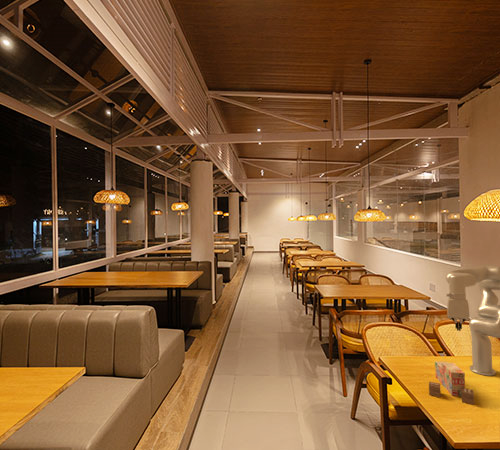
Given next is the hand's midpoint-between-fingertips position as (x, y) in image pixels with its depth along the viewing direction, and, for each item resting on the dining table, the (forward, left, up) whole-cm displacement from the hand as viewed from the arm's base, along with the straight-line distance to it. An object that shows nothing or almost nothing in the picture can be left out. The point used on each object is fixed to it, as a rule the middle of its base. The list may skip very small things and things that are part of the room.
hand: (458, 330), depth 176 cm
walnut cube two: (+20, +2, -29) cm, 35 cm away
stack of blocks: (+7, -5, -30) cm, 31 cm away
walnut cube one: (+20, -12, -29) cm, 37 cm away
